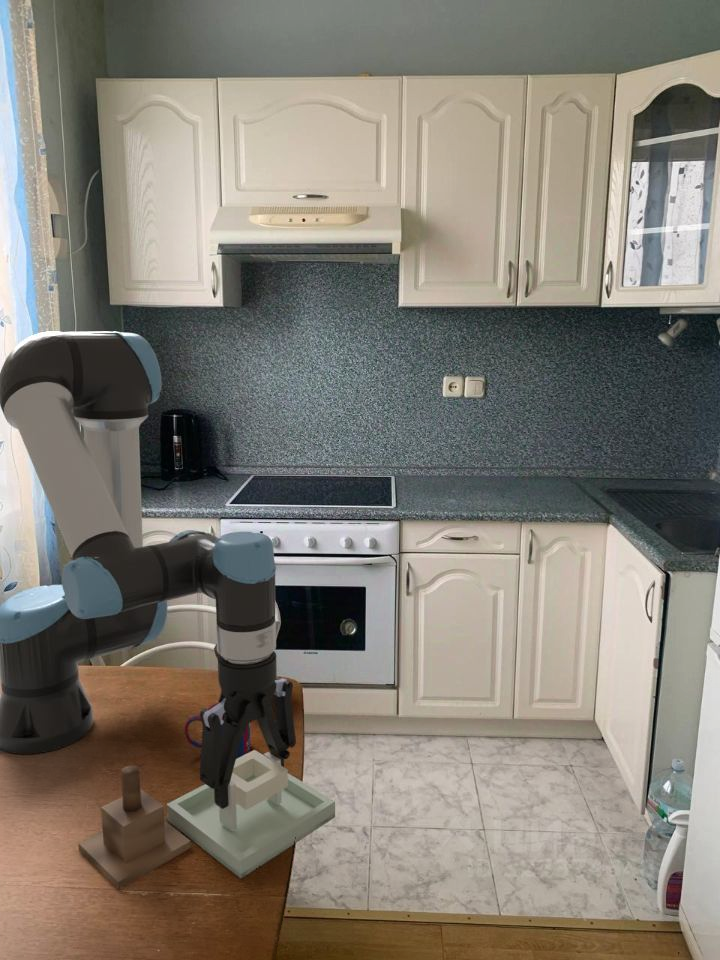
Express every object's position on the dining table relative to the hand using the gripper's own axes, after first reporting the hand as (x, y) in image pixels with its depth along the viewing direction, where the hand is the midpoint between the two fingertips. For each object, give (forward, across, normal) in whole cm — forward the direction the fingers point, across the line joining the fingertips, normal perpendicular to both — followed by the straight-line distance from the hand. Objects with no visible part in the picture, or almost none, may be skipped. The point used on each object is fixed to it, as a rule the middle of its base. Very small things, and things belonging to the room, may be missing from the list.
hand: (251, 811), depth 100 cm
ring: (-4, 0, 0) cm, 4 cm away
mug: (+1, +7, +17) cm, 18 cm away
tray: (+1, 0, 0) cm, 1 cm away
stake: (+1, -14, +6) cm, 15 cm away
